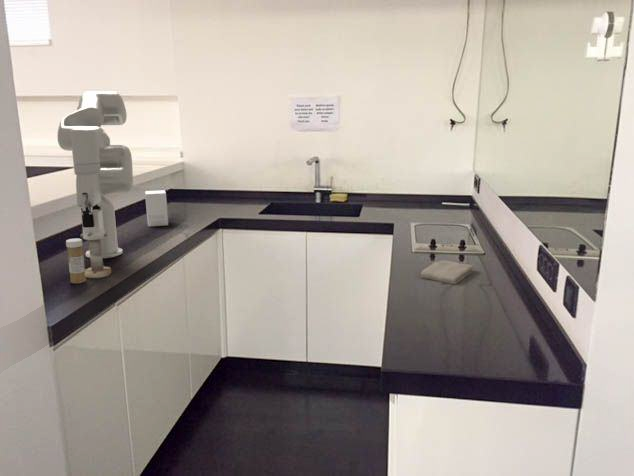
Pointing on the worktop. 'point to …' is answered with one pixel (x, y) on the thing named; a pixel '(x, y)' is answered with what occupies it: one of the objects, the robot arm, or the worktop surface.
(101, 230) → the coupling cap
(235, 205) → the worktop surface
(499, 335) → the worktop surface
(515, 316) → the worktop surface
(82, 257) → the sprinkles bottle
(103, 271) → the post base
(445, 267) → the washcloth
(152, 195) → the supplement box
